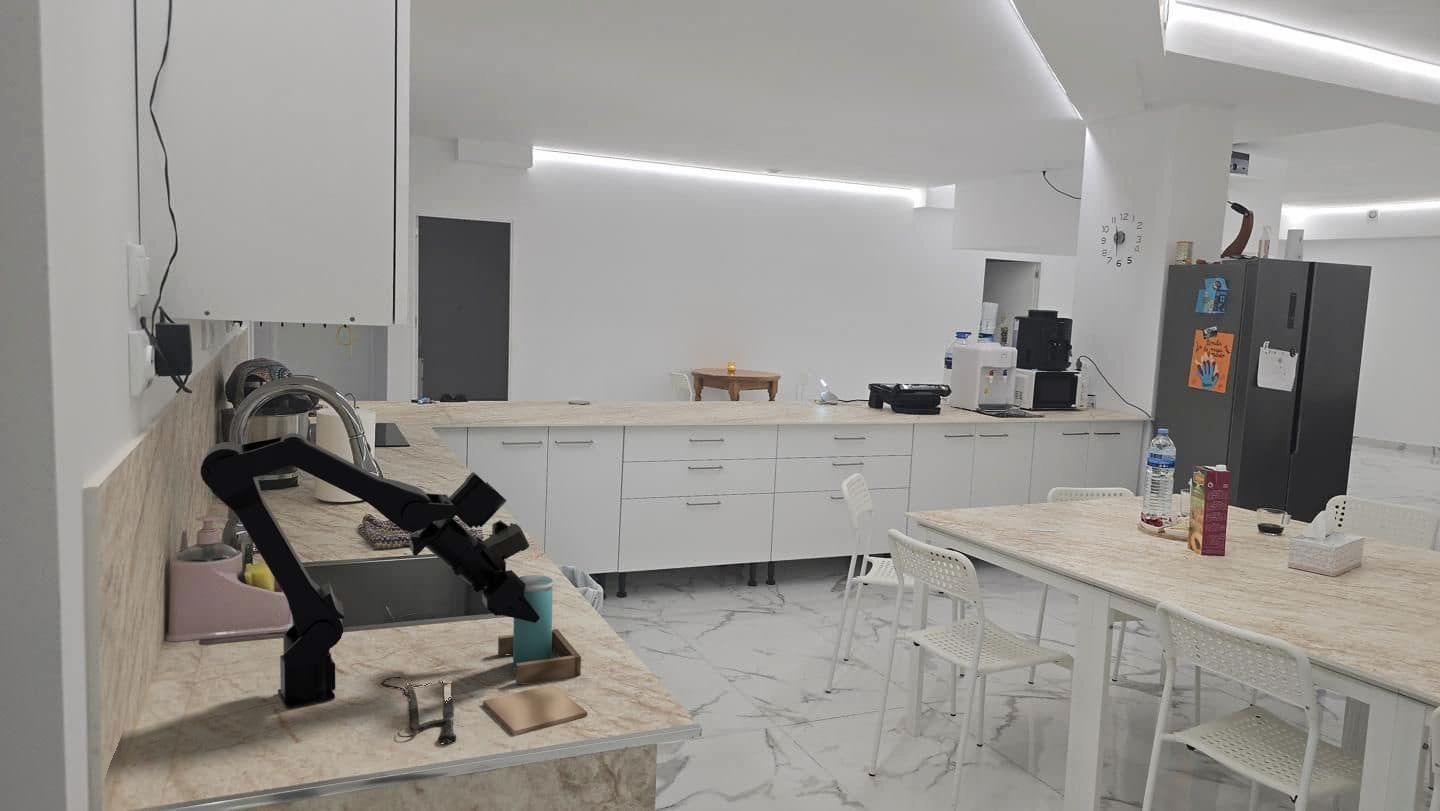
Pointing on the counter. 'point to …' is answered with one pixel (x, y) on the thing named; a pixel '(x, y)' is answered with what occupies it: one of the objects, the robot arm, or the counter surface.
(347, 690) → the counter surface
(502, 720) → the mat
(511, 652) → the cubby
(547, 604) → the tin
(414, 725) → the hacksaw
